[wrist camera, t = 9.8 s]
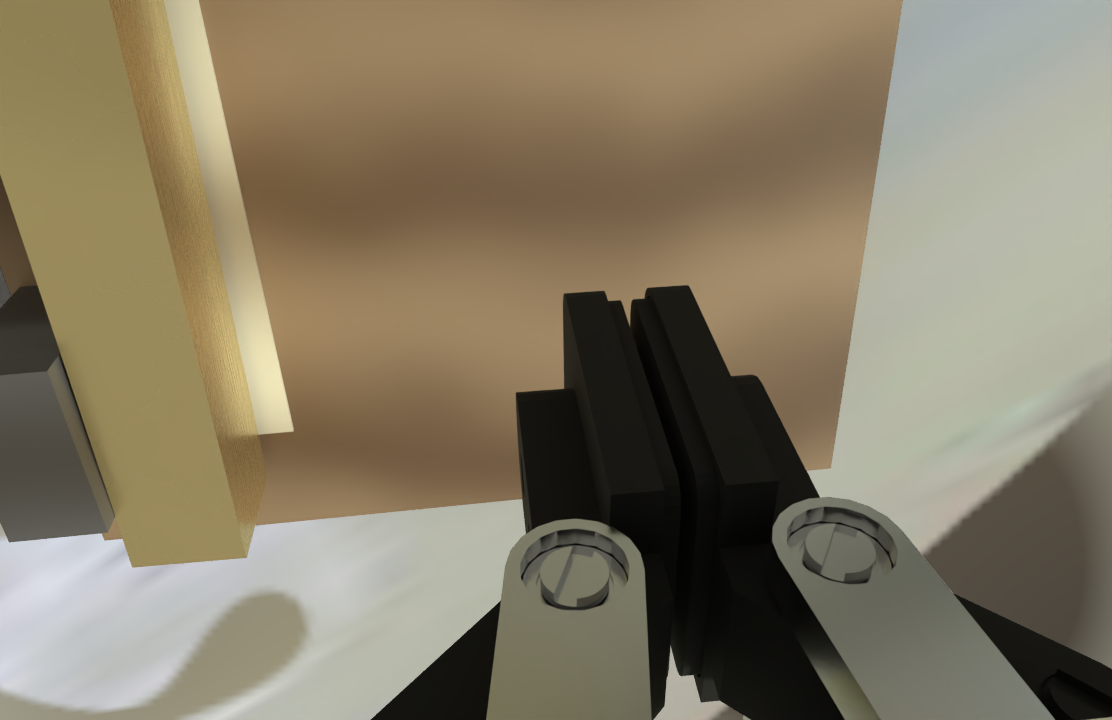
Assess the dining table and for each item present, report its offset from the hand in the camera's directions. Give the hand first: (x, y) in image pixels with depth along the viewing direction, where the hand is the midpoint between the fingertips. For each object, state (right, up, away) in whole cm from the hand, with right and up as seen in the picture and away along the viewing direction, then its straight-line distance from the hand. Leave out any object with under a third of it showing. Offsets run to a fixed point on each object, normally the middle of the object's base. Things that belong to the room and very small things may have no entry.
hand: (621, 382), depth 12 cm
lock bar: (-10, +4, +6) cm, 12 cm away
